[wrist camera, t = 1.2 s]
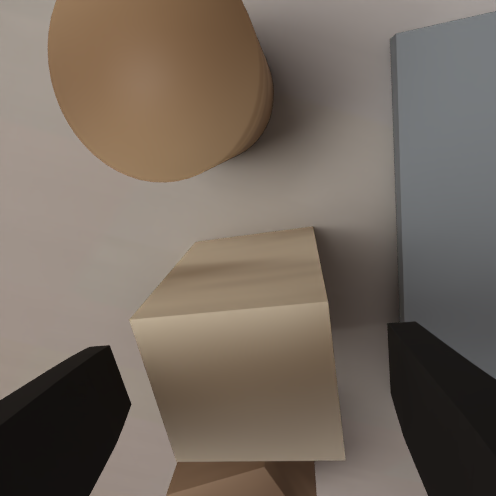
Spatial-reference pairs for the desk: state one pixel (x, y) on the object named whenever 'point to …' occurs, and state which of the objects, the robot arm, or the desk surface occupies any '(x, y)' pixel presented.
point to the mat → (447, 182)
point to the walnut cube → (244, 478)
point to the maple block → (244, 351)
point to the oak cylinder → (160, 82)
